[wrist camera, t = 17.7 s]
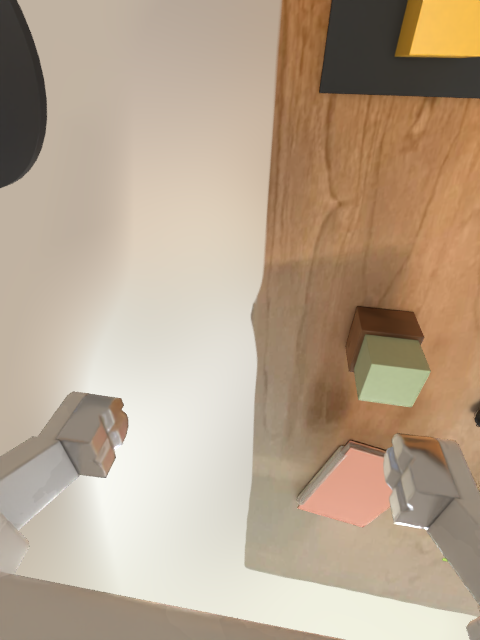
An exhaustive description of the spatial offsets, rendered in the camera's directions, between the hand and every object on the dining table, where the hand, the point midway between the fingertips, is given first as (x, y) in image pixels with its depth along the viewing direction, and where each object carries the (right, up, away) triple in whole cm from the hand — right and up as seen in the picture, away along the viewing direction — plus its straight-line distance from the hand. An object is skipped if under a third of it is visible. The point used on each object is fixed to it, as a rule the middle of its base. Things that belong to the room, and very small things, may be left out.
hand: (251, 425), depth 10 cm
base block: (+18, +2, +34) cm, 39 cm away
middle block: (+17, -1, +30) cm, 35 cm away
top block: (+15, +26, +15) cm, 34 cm away
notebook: (+23, -30, +58) cm, 70 cm away
